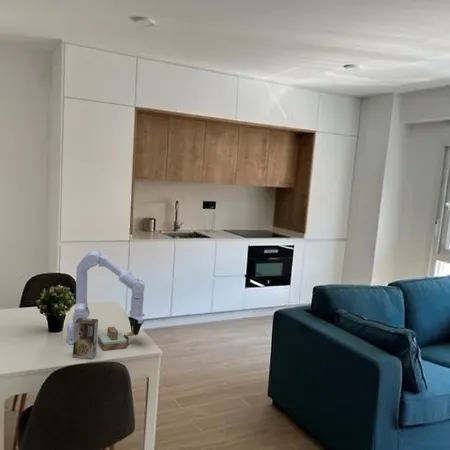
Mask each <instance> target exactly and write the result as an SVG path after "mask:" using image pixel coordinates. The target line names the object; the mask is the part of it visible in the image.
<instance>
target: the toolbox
mask: <svg viewBox="0 0 450 450" xmlns="http://www.w3.org/2000/svg"><path fill="white" fill-rule="evenodd" d="M123 336H124V337H125V339H126V340H127V342H124V343H115V344H105V345H103V343H102V342H101V341H100V339H99V338H98V337H97V345H99V347H100V349H101V350H102V351H112V350H116V351H117V350H124V349H127V348H128V347H127V346H129V337H130V336H125V335H124V334H123Z"/></svg>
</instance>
